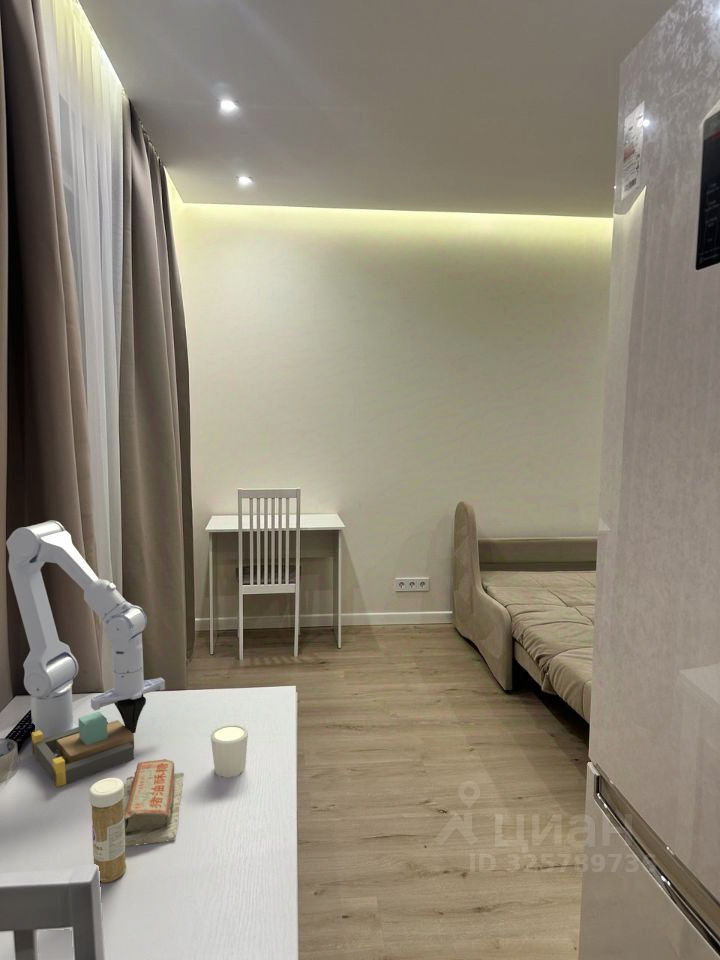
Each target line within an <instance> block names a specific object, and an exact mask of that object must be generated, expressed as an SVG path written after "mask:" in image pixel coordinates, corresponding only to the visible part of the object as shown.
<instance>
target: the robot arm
mask: <svg viewBox="0 0 720 960" xmlns="http://www.w3.org/2000/svg"><path fill="white" fill-rule="evenodd" d="M5 544H6V547H7V551H8V555H9V557H8V558H9V559H8V572H9V575H10V580H11V583H12V587H13V590H14V595H15V597H16V601H17V605H18V608H19V613H20V616H21V620H22V624H23V628H24V632H25V635H26V638H27V642H28V645H29V646H28V647H29V649H30V650H29V653H28V655H27V657H26V658H25V660H24V661H23V665H22V666H23V669H24V677H23V685H24V689H25V690H26V691H27V692H28V694H29V695H30V712H31V713H30V714H31V724H32V723H33V724H34V725H35V731H38V730H40V731H41V732H42V733H43V738H46V737H49V736H52V735H55V734H58V733H61V732H64V731H68V730H71V729H74V728H77V727H79V725H78V724H77V723H75V722H74V710H73V690H72V687H73V684H74V678H75V677H76V676H77V675H78V673H79V663H78V661H77V659H76V657H75V656H74V654H73V653H72V652H71V648H70V646H69V645H68V644H66V643H64V642H62V641H60V638H59V636H58V631H57V628H56V624H55V620H54V617H53V612H52V608H51V605H50V602H49V597H48V594H47V590H46V585H45V582H44V580H43V579H44V578H43V575H42V571H41V569H42V567H43V566H44V565H45V563H53V564H57V565H58V566H59V567H60V568H61V569H62V570H63V571H64V572H65V573H66V574H67V575H68V576H69V577H70V578H71V579H72V580H73V581H74V582H75V583H76V584H77V585H78V586H79V587H80V588H81V589H82V590H83V591H84V593H83V600H84V601H85V602H86V604H87V605H88V606H89V607H90V609H92V610H93V611H94V613H95V614H96V616H98V617H99V619H100V620H101V621H102V622H103V623H104V624H105V625H106V626H105V627H104V633H105V635H106V637H107V638H108V640H109V642H110V647H111V651H112V652H111V653H112V654H111V655H112V674H113V675H112V676H113V677H112V679H113V688H111V689H108V690H107V691H105V692H103V693H101V694H98V695H95V696H92V697H90V708H91V709H92V710H94V711H99V710H100V709H101V708H103V707H106V706H110V705H112V704H114V706H115V707H116V709H117V710H118V711H117V712H118V713H119V715H120V716H121V718H122V721H123V725H124V726H125V727H126V728H127V729H128V730H129V731H131V732H132V733H133V734H136V731H137V726H138V722H139V718H140V716H141V713H142V711H143V709H144V707H145V705H146V704H147V702H146V701H147V698H146V697H145V696H144V695H145V694H147V693H151V692H154V691H158V690H159V691H163V690H166V684H165V683H166V680H165V679H164V678H162V677H158V678H152V679H146V680H145V679H144V657H143V655H144V654H143V633H142V631H144V630H145V629H146V627H147V624H148V623H147V622H148V619H147V615H146V614H145V612H144V610H143V608H142V607H140V606H139V605H135V604H134V605H133V604H132V603H130V602H128V601H127V600H126V599H125V598H124V597H123V596H122V595H121V593H120V592H119V591H118V590H117V589H116V588H117V586H116V585H115V584H114V582H110V581H109V580H107V579H100V578H98V576H97V574H96V573H95V572H94V571H93V569H92V568H91V567H90V565H89V564H88V563H87V561H86V560H85V559H84V557H82V555H81V554H80V552H79V550H78V549H77V548H76V547H75V545H74V544H73V541H72V536H71V534H70V533H69V531H67V530H66V529H65V526H63V525H62V524H61V522H59V521H57V520H47V521H45V522H42V523H37V524H33V525H30V526H26V527H24V526H23V527H19V528H17V529H15V530H14V531H12V533H11V534H10V536H9V538H8V539H7V540H6V542H5Z"/></svg>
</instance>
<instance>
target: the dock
mask: <svg viewBox="0 0 720 960" xmlns="http://www.w3.org/2000/svg"><path fill="white" fill-rule="evenodd" d="M107 723H109V721H107ZM77 733H79V726H78V727H77V728H74V729H71V730H68V731H64V732H61V733H58V734H55V735H52V736H49V737H46V738H43V733H42V732H41V731H40V730H38V731H35V732H32V733H31V745H32V747H31V749H32V756H34V757H35V759H36V761H37V762H38V763H39V764H40V766H41V767H42V769H43V770H44V771H45V773H46V774H47V776H48V777H49V778H50V781H52V782H53V784H54V785H55V787H57V788H59V787H62V786H65V785H67V784H70V783H73V782H75V781H78V780H80V779H84V778H86V777H89V776H92V775H94V774H96V773H99V772H103V771H104V770H107V769H110V768H113V767H115V766H118V765H122V764H123V763H126V762H130V761H131V760H134V759H135V755H134V754H135V751H134V750H135V745H134V746H133V745H132V744H130V743H126V744H123V745H121V746H118V747H115V748H112V749H109V750H106V751H104V752H101V753H98V754H95V755H92V756H90V757H87V758H84V759H81V760H78V761H75V762H73V763H70V764H65V760H64V759H63V757H59V756H58V757H57V756H56V754H54V753H56V752H57V740H59V739H62V738H65V737H68V736H71V735H74V734H77Z"/></svg>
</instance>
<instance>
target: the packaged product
mask: <svg viewBox="0 0 720 960" xmlns="http://www.w3.org/2000/svg"><path fill="white" fill-rule="evenodd" d="M183 780H184V772H178V773H175V763H174V761H173V760H169V759H166V758H164V759H157V760H155V759H154V760H147V761H139V762H138V763H137V766H136V769H135V771H134V775H133V776H132V775H131V776H129V777H127V778H126V781H125V784H124V796H123V810H124V811H123V812H124V825H125V846H127V847H132V846H131V845H135V846H137V845H136V844H144V843H151V844H157V843H156V842H158V843H164V842H163V841H167V840H173V841H175V840H176V839H177V832H178V827H179V826H178V825H179V815H180V807H179V806H181V803H180V802H182V801H181V800H182V791H183V785H184V784H183V782H184V781H183ZM175 838H176V839H175ZM174 839H175V840H174ZM167 842H168V841H167ZM144 845H145V844H144Z"/></svg>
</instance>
